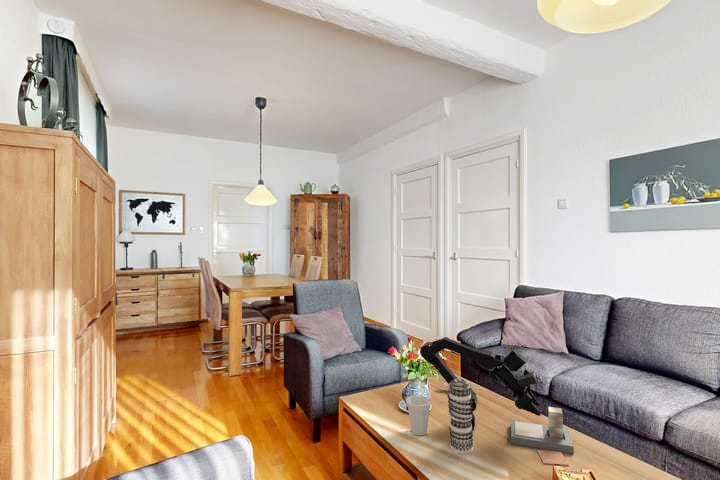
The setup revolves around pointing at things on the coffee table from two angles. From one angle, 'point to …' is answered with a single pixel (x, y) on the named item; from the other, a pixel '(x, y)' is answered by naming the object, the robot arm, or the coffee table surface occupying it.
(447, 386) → the rabbit figure
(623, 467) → the coffee table surface
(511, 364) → the robot arm
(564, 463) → the pad
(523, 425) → the puzzle board
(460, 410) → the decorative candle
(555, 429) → the block
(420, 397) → the cup
